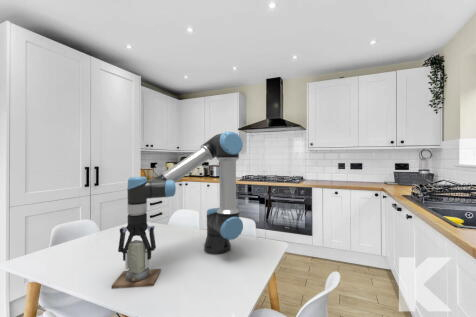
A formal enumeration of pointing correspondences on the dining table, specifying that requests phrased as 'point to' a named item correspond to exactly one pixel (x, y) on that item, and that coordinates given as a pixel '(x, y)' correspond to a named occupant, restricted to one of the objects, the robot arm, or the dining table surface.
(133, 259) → the skincare box
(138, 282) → the bayonet base
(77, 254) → the dining table surface
